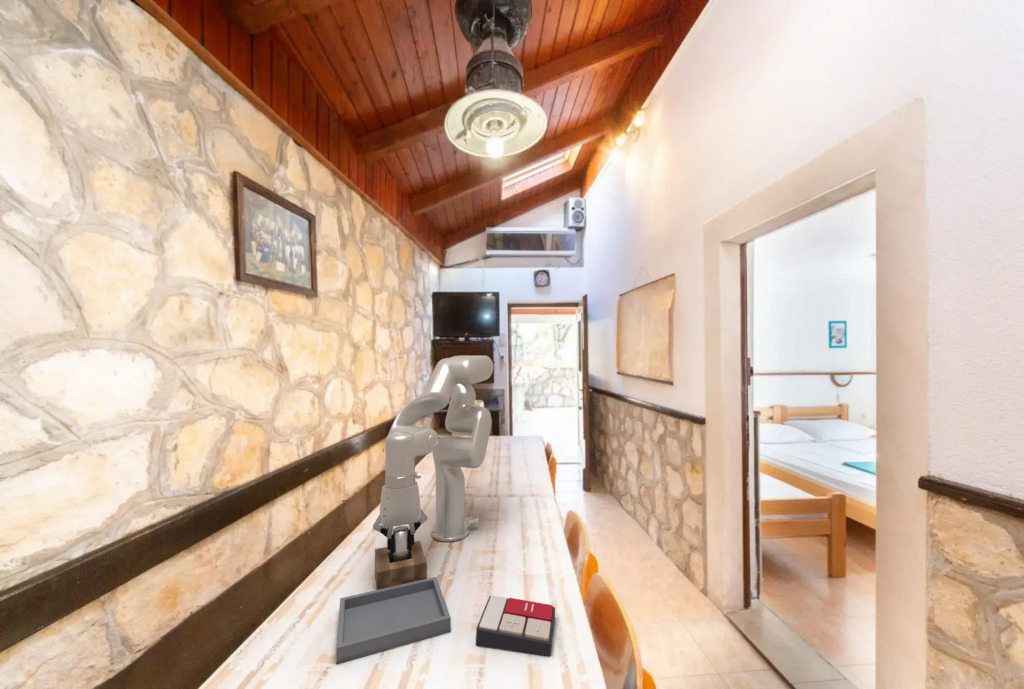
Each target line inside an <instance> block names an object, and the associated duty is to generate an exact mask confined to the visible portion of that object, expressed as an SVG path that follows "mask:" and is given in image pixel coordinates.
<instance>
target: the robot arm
mask: <svg viewBox="0 0 1024 689" xmlns="http://www.w3.org/2000/svg"><path fill="white" fill-rule="evenodd" d="M493 372H494V363H493V361H492V358H491V357H489V356H488V355H479V354H478V355H468V354H467V355H454V356H451V357H446V358H445V357H444V358H442V359H439V361H438V362H437V363H436V365H435V367H434V369H433V371H432V373H431V375H430V377H429V379H428V381H427V383H426V385H425V388H424V390H423V392H422V393H421V394H420V395H418V396H417V397H415V398H413V399H412V400H411V401H410V402H409V403H407V405H405V406H403V408H402V409H401V410H400V411H399V412H398V413H397V415H396V417H395V419H394V420H393V423H392V424H391V427H390V429H389V432H388V434H387V436H385V437H386V438H385V442H384V444H385V445H384V449H385V450H384V452H385V453H384V455H385V456H384V458H385V460H384V461H385V462H384V464H385V468H384V469H385V479H384V481H385V484H384V485H382V487H381V493H380V501H379V502H380V503H379V504H380V505H379V515H378V516H377V518H376V519H375V520H374V522H373V524H372V530H374V531H376V532H379V533H380V534H381V535H383V536H384V537H386V541H387V542H386V543H387V544H386V547H387V549H388V550H390V553H391V554H393V553H394V539H393V529H394V528H395V527H398V526H406V525H408V526H409V527H408V528H409V550H412V545H414V542H415V534H416V532H417V530H418V529H419V528H420V527H421V526H422V525H423V524H424V523H426V522H427V521H428V515H427V514H426V513H425V512H424V511H423V509H422V508H421V499H420V498H421V496H420V490H419V484H418V482H417V480H418V479H421V472H416V457H420V456H421V457H422V456H425V455H429V454H432V458H433V464H434V469H435V525H434V526H433V527H432V528H431V529H430V535H431V538H433V539H434V540H437V541H439V542H445V543H446V542H456V541H460V540H462V539H464V538H466V537H467V536H468V535H469V534H470V533H471V532H470V530H471V528H470V527H471V526H472V525H474V526H476V525H479V524H480V518H479V517H474V516H471V515H470V516H468V517H467V516H466V478H465V474H464V472H463V470H462V468H467V469H477V468H480V467H481V466H482V465H483V463H484V461H485V458H486V453H487V448H488V443H489V440H490V439H489V438H490V433H491V429H492V415H491V412H490V410H489V409H488V408H487V407H484V406H478V405H477V406H476V405H475V402H476V397H477V395H476V394H477V393H476V391H475V388H474V387H473V386H472V385H475V384H478V383H481V382H484V381H487V380H488V379H489V378H491V376H492V374H493ZM448 405H449V406H448ZM447 406H448V408H447V411H446V412H447V413H446V416H445V422H444V425H445V426H444V427H445V429H446V431H447V432H449V433H451V434H452V433H453V434H460V435H470V437H469V436H468V437H467V436H458V435H457V436H455V435H444V436H440V437H439V434H438V433H437V432H436V431H435V430H434V429H433V428H431V427H424V426H416V425H414V424H415V423H416V422H417V421H418V420H420V419H421V418H423V417H425V416H428V415H430V414H434V413H436V412H438V411H440V410H443V409H445V408H446V407H447Z"/></svg>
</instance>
